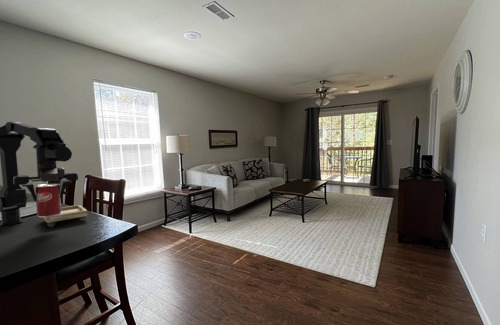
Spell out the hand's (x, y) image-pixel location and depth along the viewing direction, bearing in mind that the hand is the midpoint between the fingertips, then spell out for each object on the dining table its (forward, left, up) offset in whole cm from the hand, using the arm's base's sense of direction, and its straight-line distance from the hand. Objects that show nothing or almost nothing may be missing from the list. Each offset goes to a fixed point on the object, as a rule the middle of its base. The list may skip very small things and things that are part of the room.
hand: (48, 199), depth 92 cm
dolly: (-11, +7, -13) cm, 18 cm away
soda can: (0, 0, -6) cm, 6 cm away
